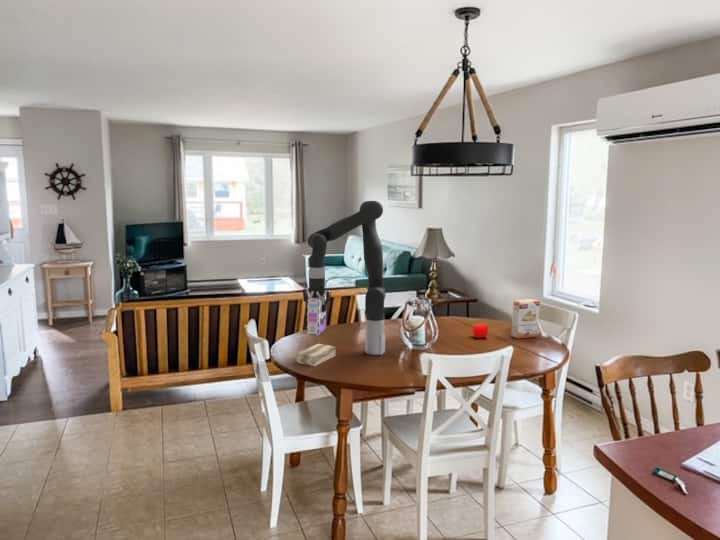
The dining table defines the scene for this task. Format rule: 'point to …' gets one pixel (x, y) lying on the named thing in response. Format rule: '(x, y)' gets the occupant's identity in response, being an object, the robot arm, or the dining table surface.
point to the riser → (315, 354)
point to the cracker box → (525, 318)
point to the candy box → (315, 316)
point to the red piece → (480, 331)
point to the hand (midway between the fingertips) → (316, 311)
